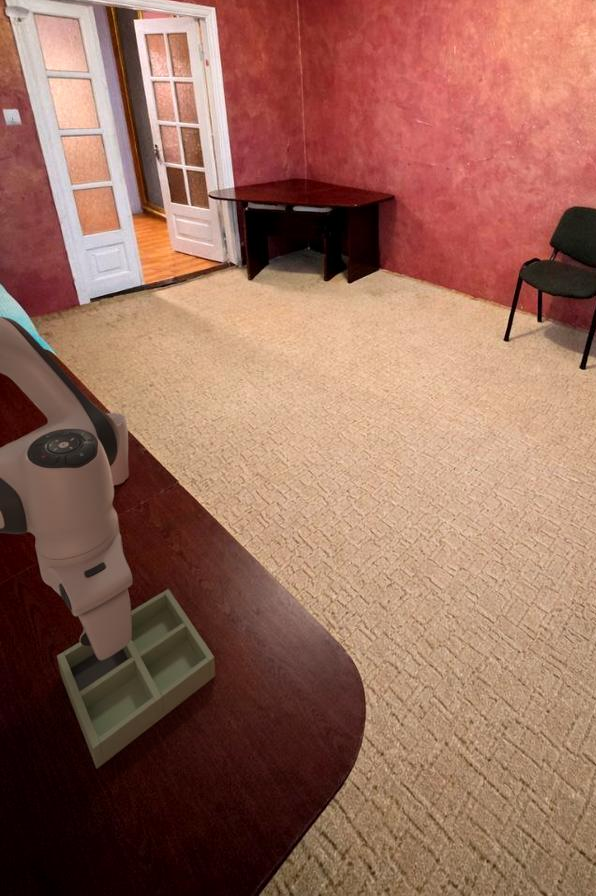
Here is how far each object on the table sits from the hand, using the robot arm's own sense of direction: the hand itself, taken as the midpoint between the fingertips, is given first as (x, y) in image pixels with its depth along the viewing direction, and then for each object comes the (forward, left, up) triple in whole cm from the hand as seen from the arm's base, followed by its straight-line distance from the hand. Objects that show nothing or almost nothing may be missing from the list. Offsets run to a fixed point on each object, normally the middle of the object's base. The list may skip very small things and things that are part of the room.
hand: (94, 628), depth 66 cm
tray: (+4, -4, -9) cm, 10 cm away
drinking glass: (+16, +42, -9) cm, 46 cm away
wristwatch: (0, 0, -2) cm, 2 cm away
